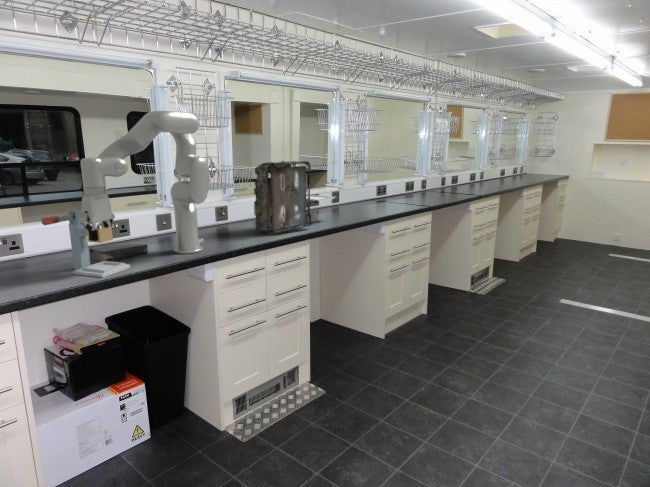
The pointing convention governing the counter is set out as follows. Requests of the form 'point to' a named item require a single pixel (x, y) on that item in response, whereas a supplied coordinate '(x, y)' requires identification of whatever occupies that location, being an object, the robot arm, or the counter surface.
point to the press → (82, 252)
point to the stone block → (118, 251)
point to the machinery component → (282, 196)
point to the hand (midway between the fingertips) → (100, 238)
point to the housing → (102, 234)
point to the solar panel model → (316, 198)
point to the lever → (58, 219)
